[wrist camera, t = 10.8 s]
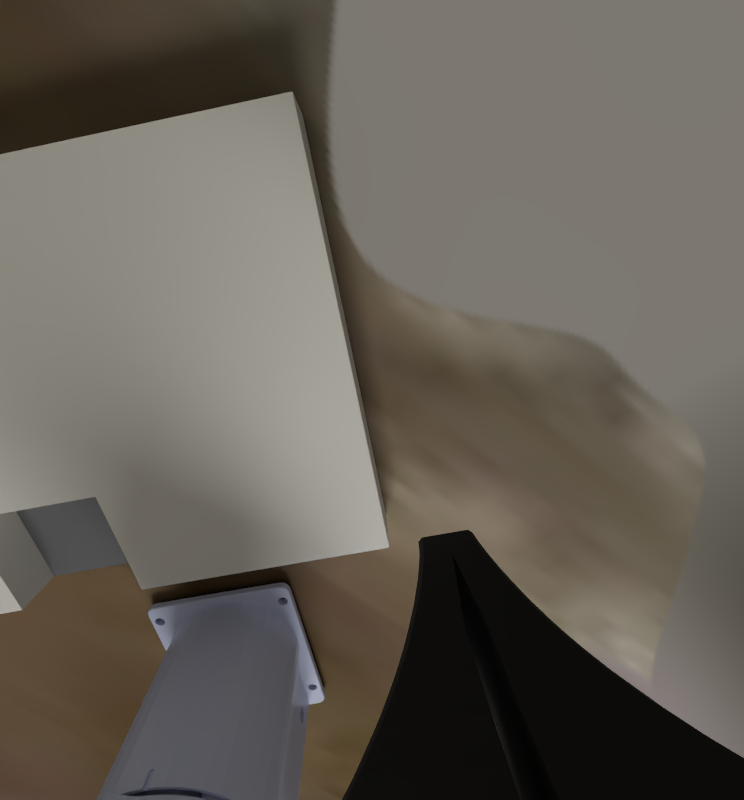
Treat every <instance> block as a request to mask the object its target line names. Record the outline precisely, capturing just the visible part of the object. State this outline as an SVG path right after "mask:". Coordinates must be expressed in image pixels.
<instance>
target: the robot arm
mask: <svg viewBox="0 0 744 800" xmlns="http://www.w3.org/2000/svg"><path fill="white" fill-rule="evenodd" d="M419 550H420V561H419V574H418V582H417V589H416V595H415V602H414V607H413V612H412V616H411V620H410V625H409V629H408V633H407V638H406V641H405V645H404V649H403V652H402V656H401V659H400V662H399V665H398V668H397V672H396V675H395V678H394V681H393V683H392V686H391V689H390V692H389V695H388V697H387V700H386V703H385V706H384V708H383V711H382V713H381V716H380V718H379V721H378V723H377V726H376V728H375V730H374V733H373V735H372V737H371V739H370V742H369V744H368V746H367V748H366V751H365V753H364V755H363V757H362V760H361V762H360V764H359V766H358V769H357V771H356V773H355V775H354V777H353V779H352V781H351V783H350V785H349V787H348V789H347V791H346V793H345V795H344V797H343V799H342V800H744V758H743V757H741V756H739V755H738V754H736V753H734V752H732V751H731V750H729V749H727V748H726V747H724V746H722V745H721V744H719V743H717V742H715V741H714V740H712V739H711V738H709V737H707V736H706V735H704V734H703V733H701V732H700V731H698V730H697V729H695V728H694V727H692V726H691V725H689V724H687V723H686V722H684V721H683V720H681V719H680V718H678V717H677V716H675V715H674V714H672V713H671V712H669V711H668V710H666V709H665V708H663V707H662V706H660V705H659V704H657V703H656V702H655V701H653V700H652V699H650V698H649V697H648V696H646V695H645V694H644V693H642V692H641V691H639V690H638V689H637V688H635V687H634V686H632V685H631V684H630V683H628V682H627V681H625V680H624V679H623V678H621V677H620V676H618V675H617V674H616V673H614V672H613V671H611V670H610V669H609V668H608V667H606V666H605V665H604V664H603V663H601V662H600V661H599V660H597V659H596V658H595V657H594V656H592V655H591V654H590V653H589V652H587V651H586V650H585V649H584V648H582V647H581V646H580V645H579V644H578V643H577V642H575V641H574V640H573V639H572V638H571V637H569V636H568V635H567V634H566V633H565V632H564V631H562V630H561V629H560V628H559V627H558V626H557V625H556V624H555V623H554V622H552V621H551V620H550V619H549V618H548V617H547V616H546V615H545V614H544V613H543V612H542V611H541V610H540V609H539V608H538V607H537V606H536V605H535V604H533V603H532V602H531V601H530V600H529V599H528V598H527V597H526V596H525V595H524V593H523V592H522V591H521V590H520V589H519V588H518V587H517V586H516V585H515V584H514V583H513V582H512V581H511V580H510V579H509V578H508V576H507V575H506V574H505V573H504V572H503V571H502V570H501V569H500V568H499V566H498V565H497V564H496V563H495V562H494V561H493V559H492V558H491V557H490V556H489V555H488V553H487V552H486V551H485V549H484V548H483V547H482V546H481V544H480V543H479V542H478V540H477V539H476V537H475V536H474V534H473V533H472V532H470V531H469V530H464V531H458V532H453V533H447V534H441V535H435V536H429V537H423V538H422V539H421V540H420V541H419ZM282 598H286V599H282ZM148 616H149V618H150V620H151V622H152V624H153V626H154V628H155V630H156V632H157V634H158V636H159V638H160V640H161V642H162V644H163V645H164V647H165V649H166V651H167V652H166V654H165V656H164V658H163V660H162V662H161V664H160V666H159V668H158V670H157V673H156V675H155V677H154V679H153V681H152V683H151V685H150V687H149V689H148V691H147V694H146V696H145V698H144V700H143V702H142V704H141V706H140V708H139V710H138V712H137V715H136V717H135V719H134V721H133V723H132V725H131V727H130V729H129V731H128V734H127V736H126V738H125V740H124V742H123V744H122V746H121V748H120V750H119V752H118V755H117V757H116V759H115V761H114V763H113V765H112V767H111V769H110V771H109V773H108V776H107V778H106V780H105V782H104V784H103V786H102V788H101V790H100V792H99V794H98V797H97V799H96V800H298V799H299V790H300V781H301V772H302V762H303V753H304V744H305V735H306V726H307V717H308V708H309V704H315V703H320V702H322V701H323V700H324V698H325V690H324V687H323V684H322V681H321V678H320V675H319V672H318V669H317V666H316V663H315V660H314V657H313V654H312V651H311V648H310V645H309V642H308V639H307V636H306V633H305V630H304V627H303V624H302V621H301V618H300V615H299V612H298V609H297V606H296V603H295V600H294V597H293V594H292V591H291V588H290V587H289V585H287V584H286V583H274V584H268V585H262V586H256V587H250V588H244V589H238V590H232V591H226V592H221V593H215V594H209V595H203V596H197V597H191V598H185V599H179V600H173V601H167V602H161V603H156V604H153V605H152V606H151V608H150V609H149V611H148ZM490 709H491V710H490ZM491 712H492V713H491ZM492 715H493V716H492ZM493 718H494V719H493ZM494 721H495V722H494ZM495 724H496V725H495ZM496 726H497V728H496ZM497 730H498V731H497ZM498 733H499V734H498ZM499 736H500V737H499ZM500 739H501V740H500ZM501 742H502V743H501ZM502 745H503V746H502ZM503 749H504V750H503ZM504 752H505V753H504Z"/></svg>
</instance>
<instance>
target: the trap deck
mask: <svg viewBox="0 0 744 800" xmlns="http://www.w3.org/2000/svg"><path fill="white" fill-rule="evenodd" d="M383 548H389V539H388V529H387V519H386V512H385V507H384V502H383V498H382V493H381V488H380V483H379V478H378V474H377V469H376V464H375V459H374V455H373V450H372V445H371V440H370V435H369V431H368V426H367V421H366V416H365V411H364V407H363V402H362V397H361V392H360V387H359V383H358V378H357V373H356V368H355V364H354V359H353V354H352V349H351V344H350V340H349V335H348V330H347V325H346V320H345V316H344V311H343V306H342V301H341V296H340V292H339V287H338V282H337V277H336V273H335V268H334V263H333V258H332V253H331V249H330V244H329V239H328V234H327V229H326V225H325V220H324V215H323V210H322V205H321V201H320V196H319V191H318V186H317V182H316V177H315V172H314V167H313V162H312V158H311V153H310V148H309V143H308V138H307V134H306V129H305V124H304V119H303V115H302V112H301V110H300V108H299V106H298V103H297V101H296V99H295V96H294V94H293V92H287V93H282V94H278V95H273V96H269V97H264V98H259V99H255V100H250V101H245V102H241V103H236V104H231V105H227V106H222V107H217V108H213V109H208V110H204V111H199V112H194V113H190V114H185V115H180V116H176V117H171V118H166V119H162V120H157V121H153V122H148V123H143V124H139V125H134V126H129V127H125V128H120V129H115V130H111V131H106V132H102V133H97V134H92V135H88V136H83V137H78V138H74V139H69V140H64V141H60V142H55V143H50V144H46V145H41V146H37V147H32V148H27V149H23V150H18V151H13V152H9V153H4V154H0V614H2V613H8V612H14V611H20V610H23V609H24V608H25V607H26V606H27V605H28V603H29V602H30V601H31V600H32V599H33V598H34V597H35V596H36V595H37V594H38V593H39V592H40V590H41V589H42V588H43V587H44V586H45V585H46V584H47V583H48V582H49V581H50V580H51V579H52V578H53V576H56V575H62V574H68V573H73V572H79V571H85V570H91V569H97V568H102V567H108V566H114V565H120V564H125V563H129V565H130V567H131V569H132V571H133V573H134V575H135V577H136V579H137V581H138V583H139V585H140V587H141V589H142V590H143V589H149V588H155V587H161V586H166V585H172V584H178V583H184V582H190V581H196V580H202V579H207V578H213V577H219V576H225V575H231V574H237V573H243V572H248V571H254V570H260V569H266V568H272V567H278V566H284V565H289V564H295V563H301V562H307V561H313V560H319V559H325V558H330V557H336V556H342V555H348V554H354V553H360V552H366V551H371V550H377V549H383Z"/></svg>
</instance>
